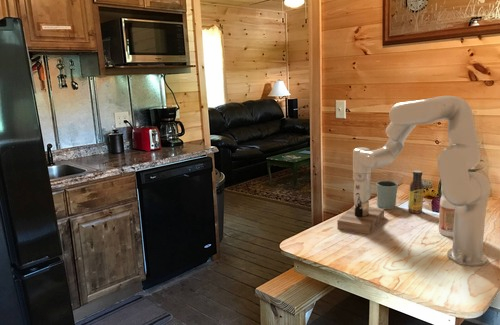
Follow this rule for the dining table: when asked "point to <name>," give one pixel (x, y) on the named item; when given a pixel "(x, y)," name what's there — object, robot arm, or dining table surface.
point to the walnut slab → (360, 220)
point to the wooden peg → (364, 208)
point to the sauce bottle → (416, 193)
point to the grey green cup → (386, 194)
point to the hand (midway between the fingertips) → (361, 213)
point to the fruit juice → (446, 217)
